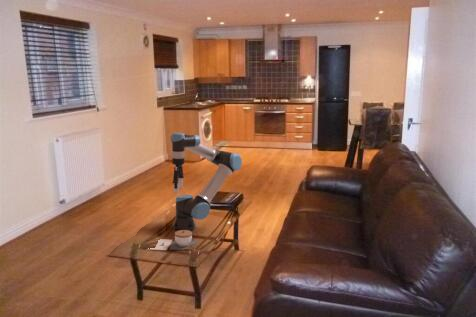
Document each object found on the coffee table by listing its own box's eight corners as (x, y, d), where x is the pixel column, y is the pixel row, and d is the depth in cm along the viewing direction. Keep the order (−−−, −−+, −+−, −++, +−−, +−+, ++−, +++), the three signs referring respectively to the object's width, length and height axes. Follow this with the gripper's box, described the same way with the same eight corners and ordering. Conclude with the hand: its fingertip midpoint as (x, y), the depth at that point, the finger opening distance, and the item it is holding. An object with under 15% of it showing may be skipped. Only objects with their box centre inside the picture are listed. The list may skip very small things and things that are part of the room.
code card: (151, 239, 265) (151, 238, 265) (172, 239, 264) (172, 239, 264) (143, 249, 248) (143, 248, 248) (166, 250, 247) (166, 249, 247)
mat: (174, 240, 263) (174, 240, 263) (196, 241, 262) (196, 241, 262) (169, 249, 249) (169, 248, 249) (192, 250, 248) (192, 249, 248)
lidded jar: (193, 247, 252) (194, 232, 251) (176, 248, 249) (176, 234, 247) (189, 240, 262) (190, 226, 260) (173, 242, 258) (173, 228, 257)
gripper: (176, 154, 271) (176, 185, 274) (167, 161, 246) (168, 195, 250) (187, 154, 270) (187, 186, 274) (180, 161, 246) (180, 195, 249)
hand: (178, 190), depth 262 cm, fingers open, 13 cm apart
